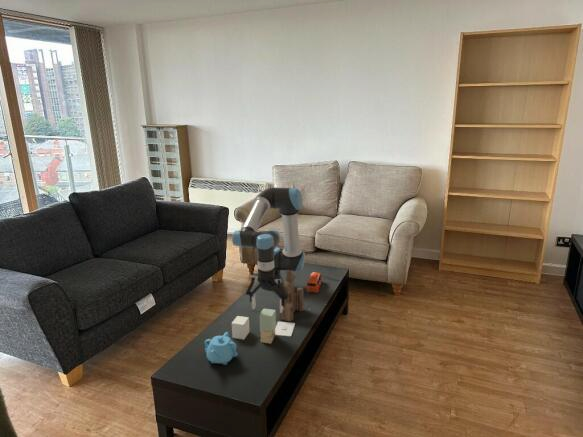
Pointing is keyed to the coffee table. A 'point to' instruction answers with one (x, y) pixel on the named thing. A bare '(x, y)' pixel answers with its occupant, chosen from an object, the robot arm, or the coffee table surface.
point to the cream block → (240, 327)
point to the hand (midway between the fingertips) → (267, 309)
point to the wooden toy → (291, 298)
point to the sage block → (267, 319)
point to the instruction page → (284, 328)
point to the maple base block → (267, 336)
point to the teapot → (220, 349)
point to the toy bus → (314, 282)
